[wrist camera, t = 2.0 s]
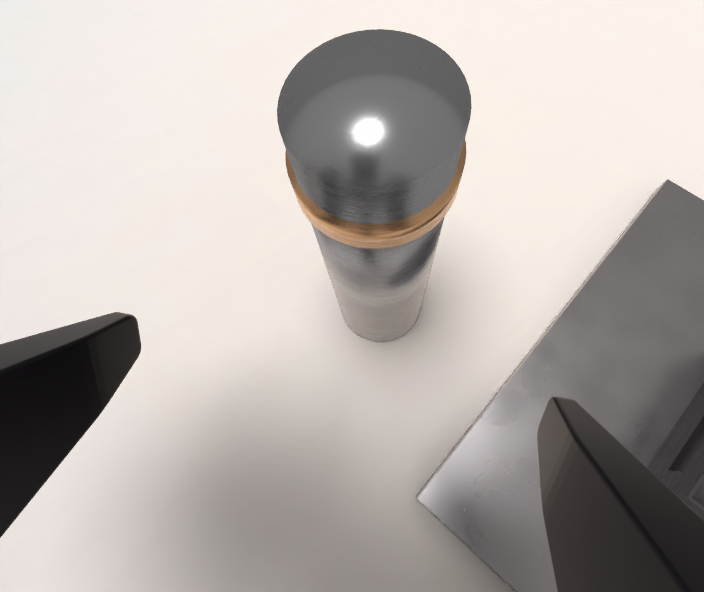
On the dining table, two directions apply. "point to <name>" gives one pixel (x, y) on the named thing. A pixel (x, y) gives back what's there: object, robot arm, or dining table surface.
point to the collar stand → (593, 391)
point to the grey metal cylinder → (376, 166)
